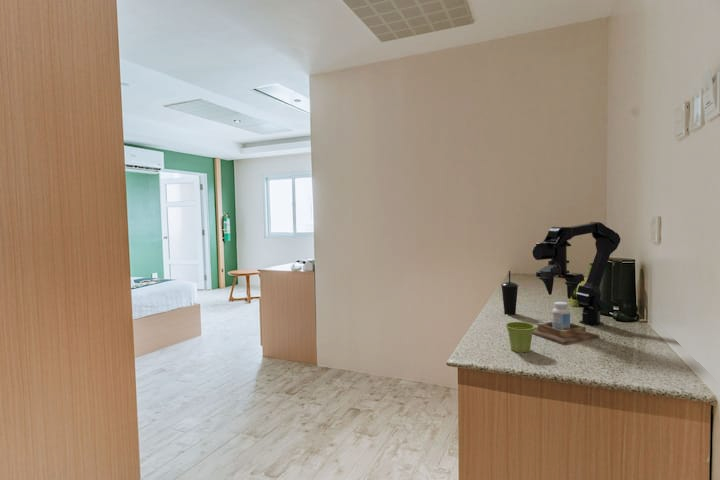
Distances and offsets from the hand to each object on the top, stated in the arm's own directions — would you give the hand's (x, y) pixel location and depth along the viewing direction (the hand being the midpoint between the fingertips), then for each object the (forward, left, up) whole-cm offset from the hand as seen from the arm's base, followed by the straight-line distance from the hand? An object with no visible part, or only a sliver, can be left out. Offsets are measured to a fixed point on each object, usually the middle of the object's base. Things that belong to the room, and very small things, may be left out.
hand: (559, 296), depth 167 cm
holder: (+7, +7, -13) cm, 16 cm away
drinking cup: (+2, -27, -13) cm, 30 cm away
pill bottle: (+7, +7, -12) cm, 16 cm away
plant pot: (+33, +14, -13) cm, 38 cm away
